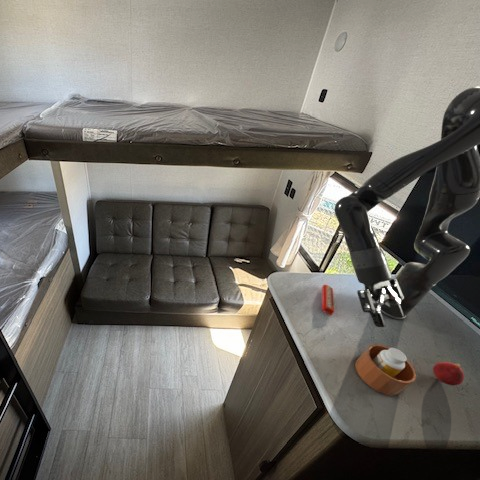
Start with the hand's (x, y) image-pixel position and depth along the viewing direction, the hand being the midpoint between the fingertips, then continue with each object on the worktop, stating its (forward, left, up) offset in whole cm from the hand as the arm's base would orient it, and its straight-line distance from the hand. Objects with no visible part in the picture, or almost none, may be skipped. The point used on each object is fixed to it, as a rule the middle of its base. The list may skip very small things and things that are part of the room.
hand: (390, 321), depth 69 cm
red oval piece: (-16, +14, -18) cm, 28 cm away
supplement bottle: (0, +6, -17) cm, 18 cm away
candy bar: (-11, -20, -18) cm, 29 cm away
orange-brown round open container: (0, +6, -17) cm, 18 cm away
